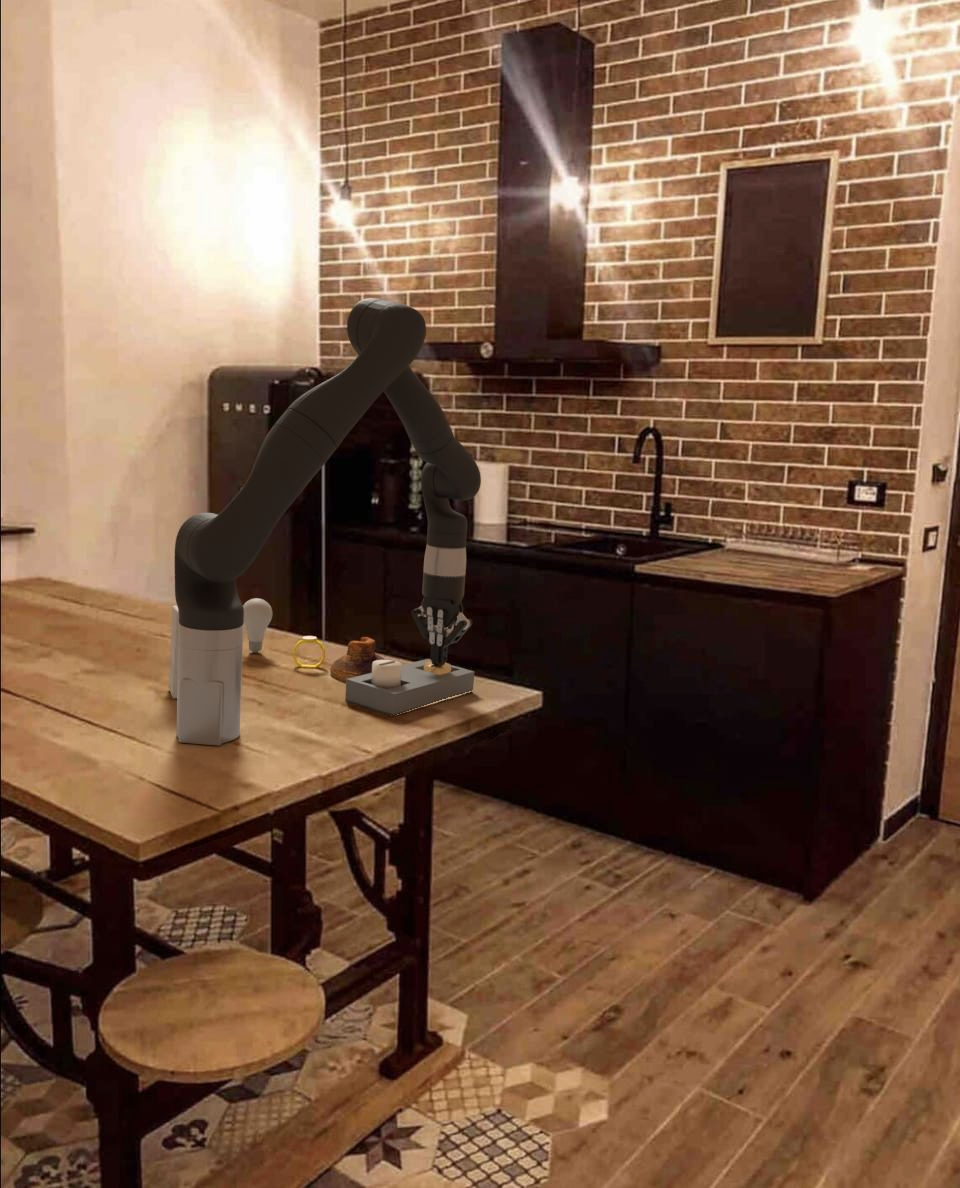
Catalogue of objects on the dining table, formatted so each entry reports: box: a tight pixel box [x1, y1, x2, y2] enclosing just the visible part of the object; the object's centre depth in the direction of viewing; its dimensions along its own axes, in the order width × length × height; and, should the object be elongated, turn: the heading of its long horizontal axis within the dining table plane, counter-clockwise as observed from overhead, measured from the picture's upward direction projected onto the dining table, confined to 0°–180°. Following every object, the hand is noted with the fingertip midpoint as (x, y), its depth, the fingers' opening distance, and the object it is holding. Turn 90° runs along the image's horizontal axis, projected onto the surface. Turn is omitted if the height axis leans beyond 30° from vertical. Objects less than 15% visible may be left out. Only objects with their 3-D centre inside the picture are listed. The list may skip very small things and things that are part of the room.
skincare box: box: [168, 605, 179, 699], centre depth 170 cm, size 8×6×15 cm
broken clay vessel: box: [329, 636, 386, 683], centre depth 190 cm, size 12×12×7 cm
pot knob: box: [371, 659, 403, 689], centre depth 172 cm, size 5×5×4 cm
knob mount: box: [344, 658, 475, 717], centre depth 179 cm, size 22×11×4 cm, turn 143°
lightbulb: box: [242, 597, 274, 654], centre depth 199 cm, size 6×6×11 cm
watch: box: [292, 635, 326, 669], centre depth 192 cm, size 6×3×6 cm, turn 96°
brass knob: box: [424, 661, 451, 675], centre depth 184 cm, size 5×5×4 cm
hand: (438, 664), depth 184 cm, fingers closed
